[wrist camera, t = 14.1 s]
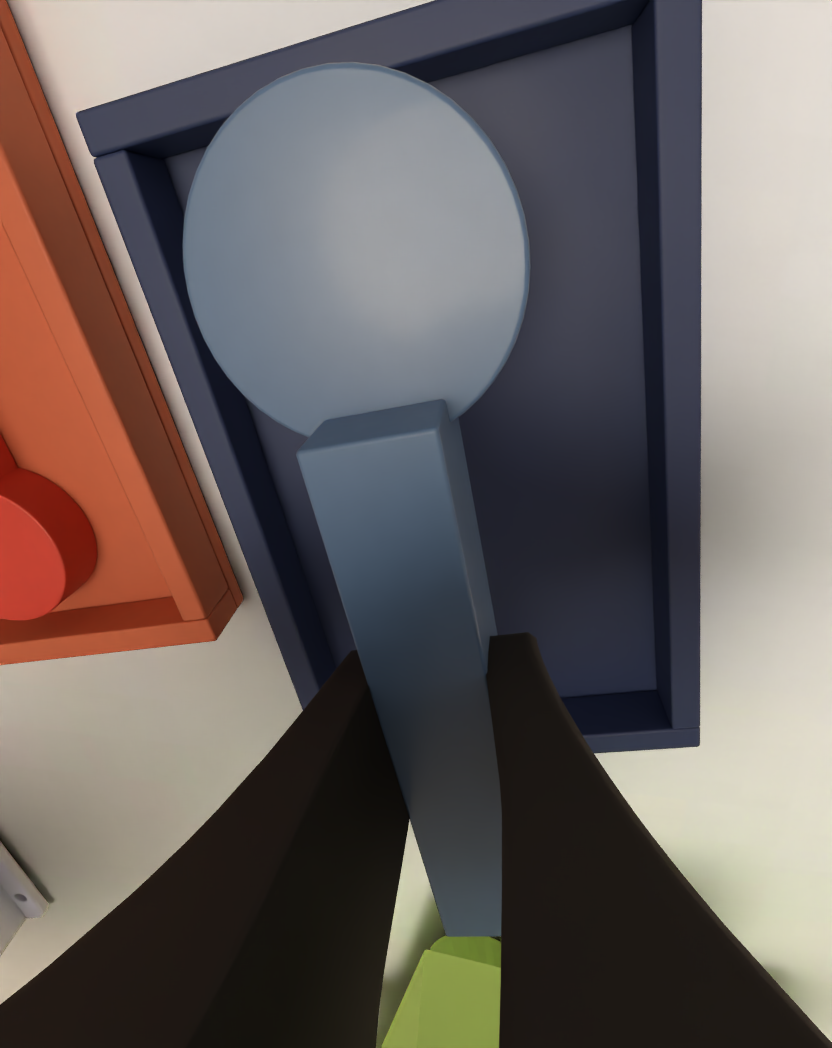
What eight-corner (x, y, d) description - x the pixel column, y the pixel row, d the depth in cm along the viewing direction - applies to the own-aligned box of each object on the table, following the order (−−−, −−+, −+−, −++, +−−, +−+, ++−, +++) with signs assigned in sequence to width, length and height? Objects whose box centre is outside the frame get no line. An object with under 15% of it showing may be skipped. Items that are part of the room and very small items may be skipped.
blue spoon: (587, 799, 12) (612, 937, 9) (398, 809, 12) (379, 938, 10) (499, 50, 7) (508, -56, 4) (184, 141, 7) (44, 95, 5)
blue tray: (677, 693, 17) (700, 747, 15) (340, 721, 19) (325, 771, 17) (663, -28, 10) (703, -86, 8) (133, 131, 12) (72, 111, 10)
